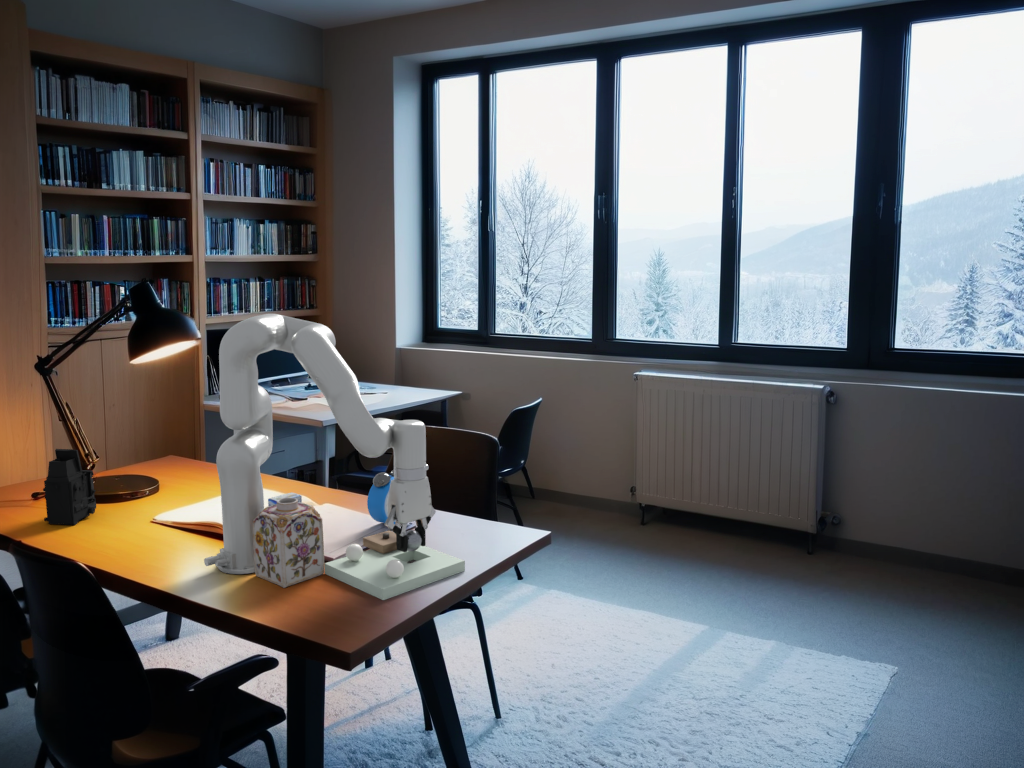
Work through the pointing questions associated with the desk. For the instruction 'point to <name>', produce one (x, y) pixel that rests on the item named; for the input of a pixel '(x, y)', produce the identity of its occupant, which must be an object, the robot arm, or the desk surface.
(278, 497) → the medicine box
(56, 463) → the camera
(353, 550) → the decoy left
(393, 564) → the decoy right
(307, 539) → the decorative jar
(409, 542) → the ball
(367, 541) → the lid
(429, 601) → the desk surface
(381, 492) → the alarm clock
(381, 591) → the board
